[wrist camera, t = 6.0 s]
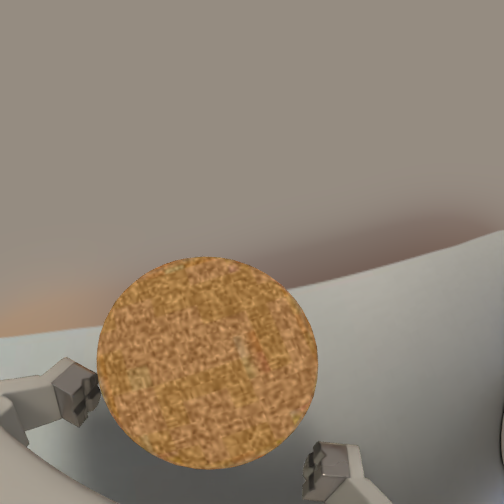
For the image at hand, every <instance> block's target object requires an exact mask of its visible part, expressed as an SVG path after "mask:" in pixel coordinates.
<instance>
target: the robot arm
mask: <svg viewBox="0 0 504 504" xmlns="http://www.w3.org/2000/svg"><path fill="white" fill-rule="evenodd" d="M98 383H99V381H98V374H96V373H95V372H93V371H91V370H89V369H87V368H85V367H84V366H82V365H80V364H78V363H76V362H74V361H73V360H71V359H69V358H67V357H66V358H63V359H61V360H60V361H59V362H58V363H57V364H55V365H54V366H53V367H52V368H50V369H49V370H48V371H47V372H46V373H44V374H43V375H42V376H41V377H40V376H39V375H35V376H28V377H22V378H14V379H7V380H0V504H119V503H117V502H115V501H113V500H111V499H109V498H107V497H105V496H103V495H101V494H99V493H97V492H95V491H93V490H91V489H89V488H88V487H86V486H84V485H82V484H81V483H79V482H77V481H75V480H74V479H72V478H71V477H69V476H67V475H66V474H64V473H63V472H61V471H59V470H58V469H56V468H55V467H53V466H52V465H50V464H49V463H47V462H46V461H45V460H43V459H42V458H40V457H39V456H38V455H36V454H35V453H34V452H32V451H31V450H30V449H28V448H27V446H28V445H29V440H28V438H27V436H26V434H25V431H27V430H30V429H34V428H37V427H40V426H43V425H46V424H48V423H51V422H54V421H57V420H60V419H62V418H63V419H65V420H66V421H68V422H70V423H71V424H73V425H75V426H77V427H80V426H81V425H82V424H83V423H84V421H85V420H86V419H87V418H88V414H87V412H91V411H94V410H95V408H96V407H97V406H98V403H99V401H100V397H101V391H100V389H99V387H98V385H97V384H98ZM501 452H502V459H503V463H504V415H503V421H502V431H501ZM303 477H304V479H305V480H306V481H305V483H304V484H303V485H302V500H311V501H322V502H324V504H393V503H392V502H391V501H390V500H389V499H388V498H387V497H386V496H385V495H384V494H383V493H382V492H381V491H380V490H379V489H378V488H377V487H376V486H375V485H374V484H373V483H372V482H371V481H370V480H369V479H368V478H365V477H364V471H363V465H362V460H361V455H360V449H359V446H358V445H349V444H340V443H330V442H321V441H318V442H317V443H316V444H315V445H314V447H313V453H310V454H309V455H308V457H307V458H306V460H305V463H304V467H303Z"/></svg>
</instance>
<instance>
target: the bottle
mask: <svg viewBox="0 0 504 504" xmlns="http://www.w3.org/2000/svg"><path fill="white" fill-rule="evenodd" d="M97 373H98V381H99V385H100V389H101V393H102V396H103V398H104V400H105V402H106V404H107V407H108V409H109V411H110V413H111V415H112V416H113V418H114V419H115V421H116V422H117V424H118V425H119V426H120V427H121V429H122V430H123V431H124V432H125V433H126V434H127V435H128V436H129V437H130V438H131V439H132V440H133V441H134V442H135V443H137V444H138V445H139V446H141V447H142V448H143V449H145V450H146V451H147V452H149V453H151V454H152V455H154V456H156V457H158V458H160V459H163V460H165V461H168V462H170V463H173V464H175V465H179V466H184V467H189V468H194V469H222V468H230V467H236V466H240V465H243V464H246V463H248V462H251V461H253V460H256V459H258V458H260V457H262V456H264V455H266V454H267V453H269V452H270V451H272V450H273V449H275V448H276V447H278V446H279V445H280V444H281V443H282V442H283V441H284V440H285V439H286V438H287V437H289V436H290V435H291V434H292V433H293V432H294V430H295V429H296V428H297V426H298V425H299V423H300V422H301V420H302V419H303V417H304V416H305V414H306V412H307V410H308V408H309V406H310V403H311V401H312V399H313V396H314V391H315V387H316V383H317V374H318V354H317V346H316V342H315V338H314V335H313V331H312V328H311V326H310V323H309V322H308V320H307V318H306V316H305V314H304V312H303V310H302V308H301V307H300V306H299V304H298V303H297V301H296V300H295V299H294V298H293V297H292V295H291V294H290V293H289V292H288V291H287V290H286V289H285V288H284V287H283V286H282V285H281V284H279V283H278V282H277V281H275V280H274V279H273V278H271V277H270V276H268V275H267V274H265V273H263V272H262V271H260V270H258V269H256V268H254V267H252V266H250V265H247V264H244V263H241V262H238V261H235V260H231V259H225V258H220V257H218V258H217V257H195V258H186V259H181V260H176V261H173V262H170V263H167V264H164V265H162V266H160V267H158V268H155V269H153V270H151V271H149V272H148V273H146V274H145V275H143V276H141V277H140V278H139V279H138V280H136V281H135V282H134V283H133V284H132V285H131V286H129V287H128V288H127V289H126V290H125V291H124V292H123V293H122V295H121V296H120V297H119V298H118V299H117V301H116V302H115V303H114V305H113V307H112V309H111V310H110V312H109V314H108V316H107V318H106V319H105V322H104V325H103V328H102V331H101V333H100V337H99V342H98V348H97Z"/></svg>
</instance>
